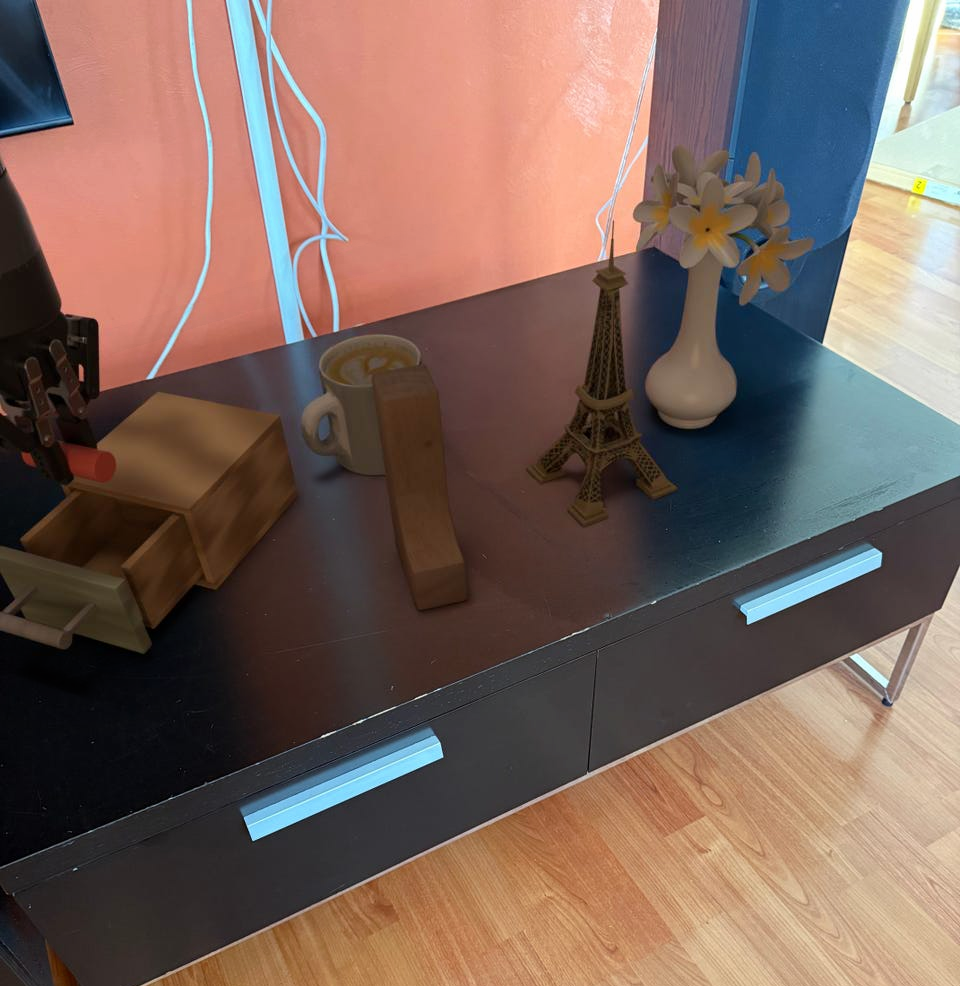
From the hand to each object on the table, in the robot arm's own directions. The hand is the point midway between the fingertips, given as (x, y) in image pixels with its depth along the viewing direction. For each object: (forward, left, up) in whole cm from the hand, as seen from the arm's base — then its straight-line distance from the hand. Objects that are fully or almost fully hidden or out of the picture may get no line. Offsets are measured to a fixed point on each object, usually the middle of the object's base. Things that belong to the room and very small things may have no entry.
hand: (73, 469), depth 74 cm
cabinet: (0, +11, -14) cm, 17 cm away
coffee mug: (+10, +27, -14) cm, 32 cm away
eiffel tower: (+34, +30, -14) cm, 47 cm away
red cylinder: (0, +1, +1) cm, 1 cm away
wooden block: (+24, +12, -14) cm, 30 cm away
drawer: (0, -2, -13) cm, 13 cm away
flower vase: (+40, +44, -14) cm, 61 cm away
